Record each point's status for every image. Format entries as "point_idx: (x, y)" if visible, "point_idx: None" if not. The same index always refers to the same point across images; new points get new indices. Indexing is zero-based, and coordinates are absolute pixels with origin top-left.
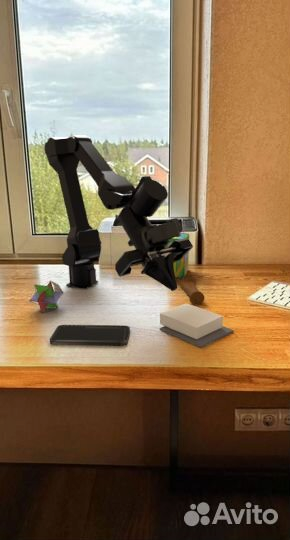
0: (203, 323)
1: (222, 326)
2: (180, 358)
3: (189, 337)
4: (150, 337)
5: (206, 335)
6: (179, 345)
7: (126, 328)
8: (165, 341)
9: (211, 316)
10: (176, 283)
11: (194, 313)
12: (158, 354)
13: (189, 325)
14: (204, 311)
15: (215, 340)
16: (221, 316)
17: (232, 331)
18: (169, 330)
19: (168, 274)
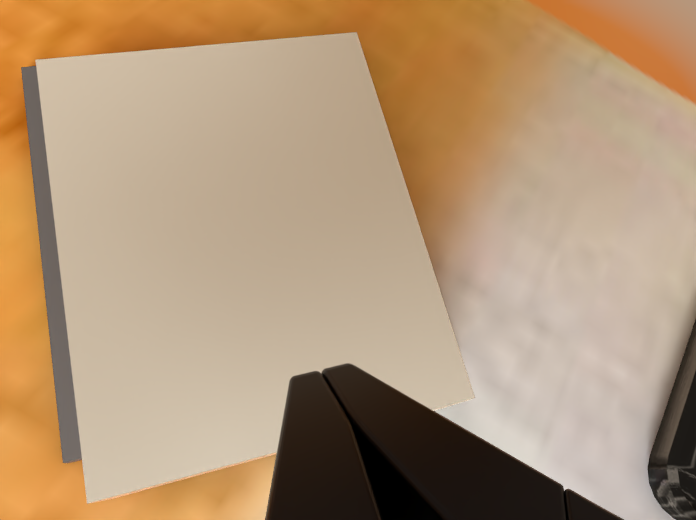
0: (271, 54)
1: (36, 146)
2: (499, 35)
3: None
4: (552, 300)
5: None
6: (440, 130)
7: (686, 470)
8: (490, 208)
9: (123, 105)
10: (293, 406)
11: (203, 227)
12: (580, 117)
13: (373, 93)
14: (92, 211)
15: None
16: (52, 61)
17: (36, 71)
18: None
19: (479, 510)
